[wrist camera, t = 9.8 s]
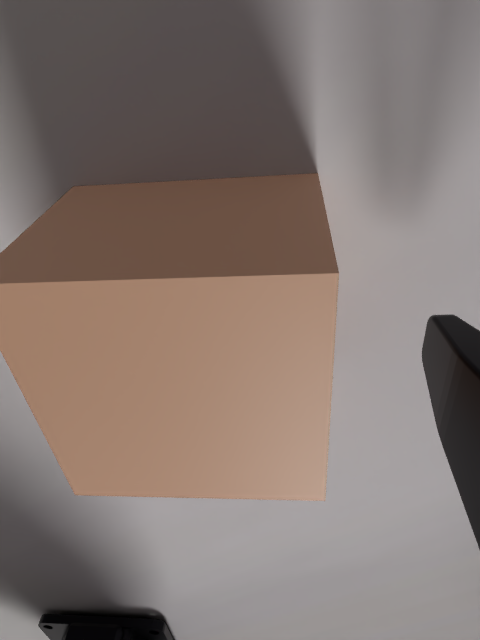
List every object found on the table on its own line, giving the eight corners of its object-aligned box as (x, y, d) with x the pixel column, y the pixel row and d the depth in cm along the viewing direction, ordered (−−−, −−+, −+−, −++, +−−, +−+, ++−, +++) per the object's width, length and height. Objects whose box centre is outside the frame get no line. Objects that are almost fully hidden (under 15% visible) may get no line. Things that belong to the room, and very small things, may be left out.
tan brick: (312, 361, 12) (324, 500, 8) (129, 363, 12) (74, 495, 9) (317, 170, 9) (338, 273, 6) (75, 184, 9) (-34, 284, 6)
